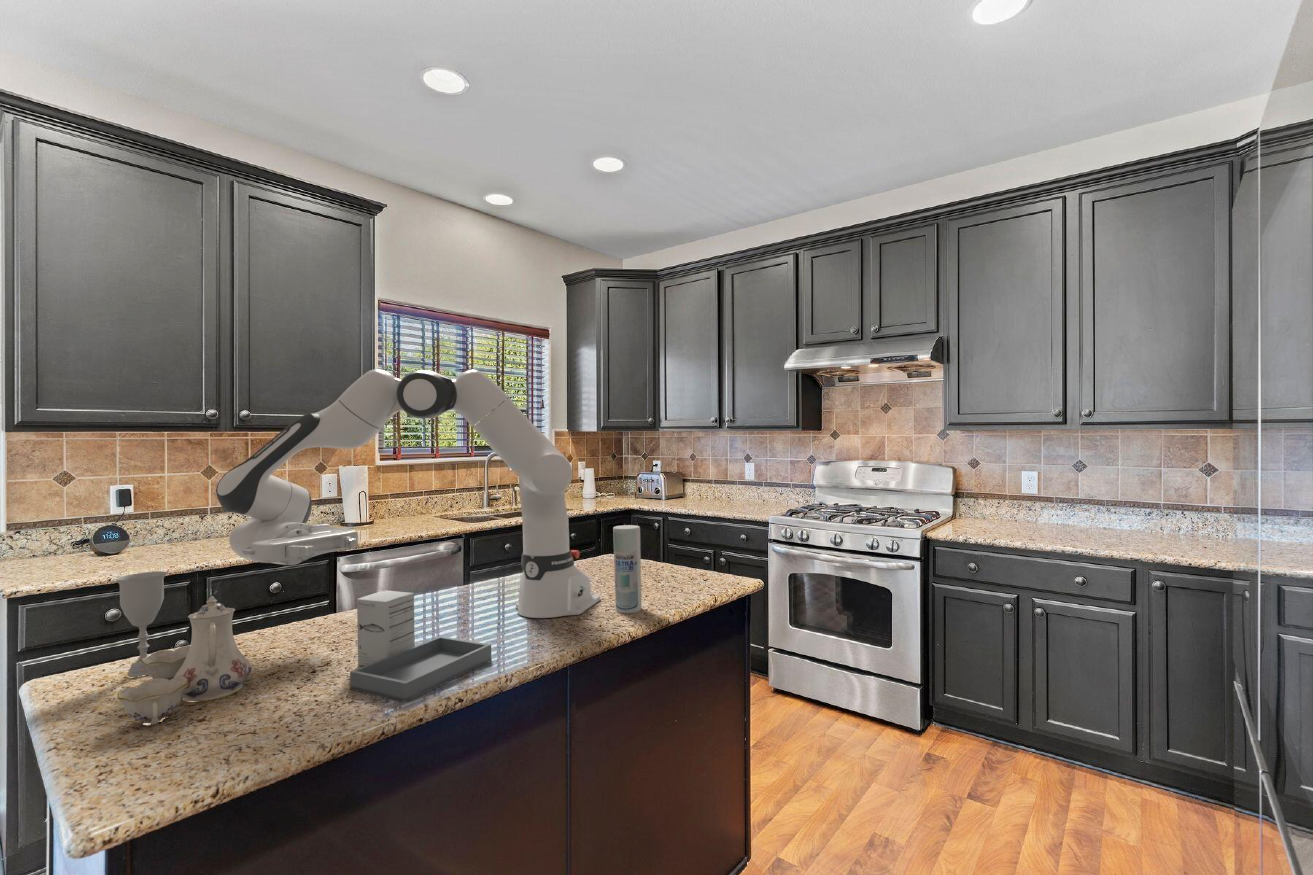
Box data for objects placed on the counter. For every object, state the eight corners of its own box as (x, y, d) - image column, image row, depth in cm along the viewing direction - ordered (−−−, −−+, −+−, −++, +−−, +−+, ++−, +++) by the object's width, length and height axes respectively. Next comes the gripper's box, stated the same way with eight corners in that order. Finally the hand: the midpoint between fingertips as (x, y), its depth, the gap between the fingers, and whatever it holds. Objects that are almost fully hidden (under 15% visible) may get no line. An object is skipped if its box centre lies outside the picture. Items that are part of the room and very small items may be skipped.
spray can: (611, 612, 145) (609, 528, 145) (619, 605, 152) (617, 524, 152) (638, 613, 144) (635, 529, 144) (645, 606, 150) (643, 525, 150)
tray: (440, 651, 121) (440, 636, 121) (491, 660, 115) (491, 644, 115) (350, 689, 103) (350, 671, 103) (405, 702, 97) (405, 683, 97)
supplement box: (356, 666, 114) (355, 598, 114) (387, 652, 121) (385, 589, 121) (387, 670, 111) (385, 601, 111) (416, 656, 118) (415, 591, 118)
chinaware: (138, 691, 109) (123, 600, 108) (249, 660, 119) (237, 576, 118) (119, 754, 86) (101, 639, 85) (259, 709, 96) (244, 606, 95)
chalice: (166, 662, 118) (164, 569, 118) (171, 671, 113) (169, 574, 113) (116, 673, 113) (114, 576, 113) (118, 683, 108) (116, 581, 108)
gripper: (236, 535, 120) (280, 539, 114) (332, 522, 138) (375, 525, 132) (237, 567, 120) (281, 573, 113) (333, 550, 138) (375, 554, 132)
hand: (332, 547), depth 123 cm, fingers open, 8 cm apart
